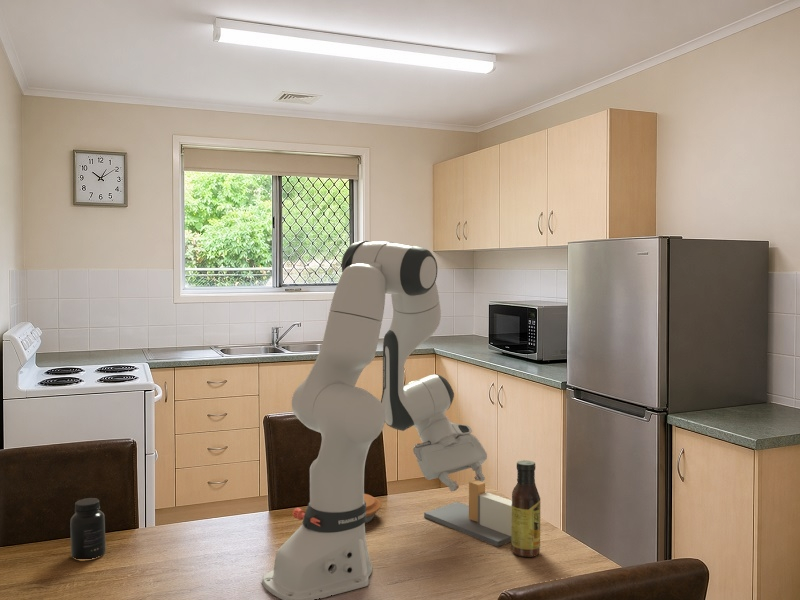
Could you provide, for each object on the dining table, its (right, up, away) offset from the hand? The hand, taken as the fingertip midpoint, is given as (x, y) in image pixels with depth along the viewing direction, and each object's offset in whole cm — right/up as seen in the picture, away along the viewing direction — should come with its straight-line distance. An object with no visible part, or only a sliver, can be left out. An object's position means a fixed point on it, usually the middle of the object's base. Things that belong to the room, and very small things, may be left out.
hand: (468, 485), depth 168 cm
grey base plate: (+2, -9, -2) cm, 9 cm away
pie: (-29, -9, +3) cm, 31 cm away
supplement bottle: (-85, -10, -19) cm, 87 cm away
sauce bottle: (+11, -10, -17) cm, 23 cm away
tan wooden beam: (+2, -8, -2) cm, 8 cm away
